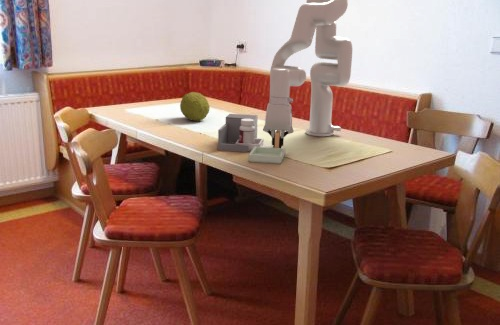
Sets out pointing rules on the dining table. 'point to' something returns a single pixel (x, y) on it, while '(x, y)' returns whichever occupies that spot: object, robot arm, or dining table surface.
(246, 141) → the pill bottle
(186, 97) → the fruit
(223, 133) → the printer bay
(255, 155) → the tray
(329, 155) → the dining table surface
